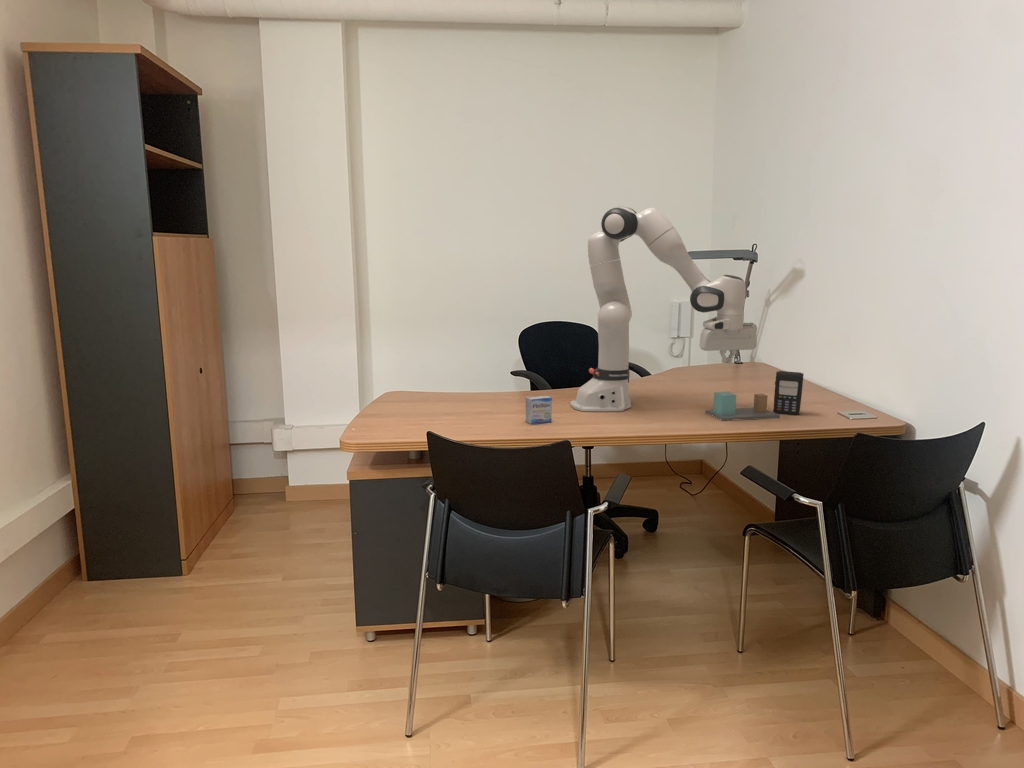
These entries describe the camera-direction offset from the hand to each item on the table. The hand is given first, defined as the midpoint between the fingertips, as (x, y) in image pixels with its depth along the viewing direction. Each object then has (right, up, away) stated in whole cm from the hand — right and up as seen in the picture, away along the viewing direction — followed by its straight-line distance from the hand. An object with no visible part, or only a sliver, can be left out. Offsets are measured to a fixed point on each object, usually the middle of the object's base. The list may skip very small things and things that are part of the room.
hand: (726, 362), depth 250 cm
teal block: (0, -18, +3) cm, 18 cm away
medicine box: (-66, -20, -6) cm, 69 cm away
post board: (+7, -18, +5) cm, 20 cm away
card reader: (+24, -18, +8) cm, 31 cm away
